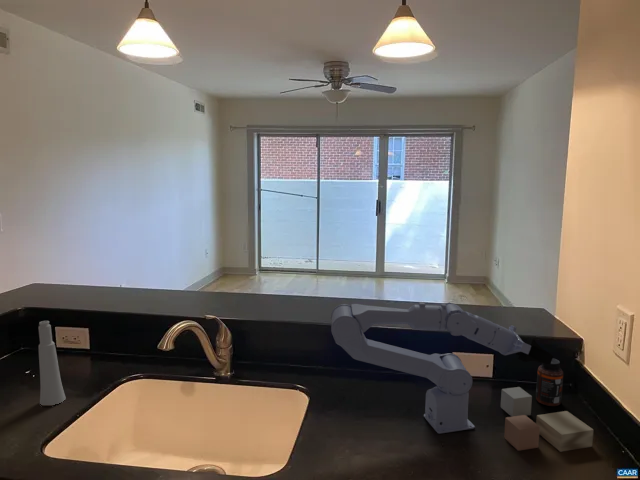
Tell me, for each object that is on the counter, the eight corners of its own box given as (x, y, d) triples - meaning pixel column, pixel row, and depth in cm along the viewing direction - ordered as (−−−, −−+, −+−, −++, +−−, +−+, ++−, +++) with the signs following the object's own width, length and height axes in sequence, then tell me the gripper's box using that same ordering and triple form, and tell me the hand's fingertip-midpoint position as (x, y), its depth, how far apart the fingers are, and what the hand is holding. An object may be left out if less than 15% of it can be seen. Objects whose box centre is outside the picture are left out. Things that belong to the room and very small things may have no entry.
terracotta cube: (518, 451, 102) (519, 429, 101) (504, 438, 107) (505, 417, 106) (538, 447, 103) (539, 426, 102) (523, 434, 108) (525, 414, 107)
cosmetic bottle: (63, 404, 123) (55, 324, 119) (37, 409, 121) (27, 327, 117) (67, 394, 128) (59, 316, 125) (42, 398, 126) (33, 319, 123)
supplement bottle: (564, 408, 119) (567, 366, 117) (538, 406, 120) (541, 364, 118) (557, 397, 124) (560, 356, 123) (533, 395, 126) (536, 354, 124)
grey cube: (512, 417, 115) (513, 398, 114) (500, 407, 120) (501, 389, 119) (530, 415, 116) (532, 396, 115) (517, 405, 121) (519, 386, 120)
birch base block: (560, 451, 101) (561, 434, 101) (535, 431, 109) (536, 415, 108) (591, 446, 103) (593, 429, 102) (565, 426, 111) (566, 410, 110)
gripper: (510, 321, 102) (566, 345, 103) (482, 315, 117) (531, 336, 117) (498, 352, 102) (554, 376, 102) (471, 341, 116) (520, 362, 117)
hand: (541, 356), depth 110 cm, fingers open, 7 cm apart
